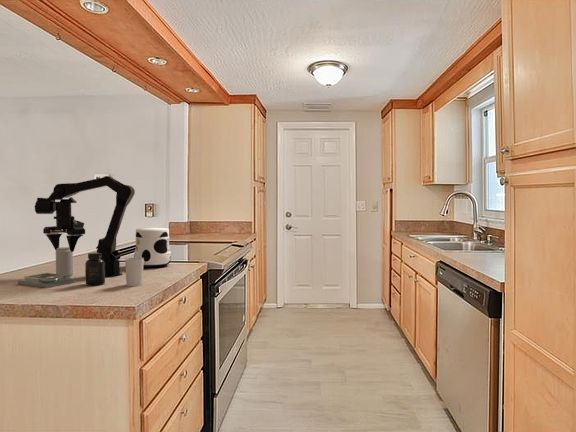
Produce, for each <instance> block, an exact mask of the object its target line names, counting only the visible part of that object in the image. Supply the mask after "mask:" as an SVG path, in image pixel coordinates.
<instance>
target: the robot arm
mask: <svg viewBox="0 0 576 432" xmlns="http://www.w3.org/2000/svg"><path fill="white" fill-rule="evenodd" d="M104 187H108V188H109V189H111V190H112V191H113V192H115V194H116V196H115V206H114V210H113V213H112V216H111V219H110V222H109V225H108V227H107V231H106V234H105V237H103V238H99V239H98V241H97V242H98V243H97V246H96V247H95V249H96V252H99V253H102V258H101V259H102V260H104V262H105V277H109V278H111V277H112V278H113V277H117V276H122V275H123V273H121V272H120V271H121V269H120V259H121V256H122V254H121V253H120V252H118V250H116V249H117V236H118V234H119V231H120V227H121V224H122V221H123V219H124V216H125V212H126V210H127V207H128V205H129V204H130V203H131V201H132V200H133V197H134V196H135V189H134V187H133V186H132V185H128V184H124V183H122V182H121V181H118V180H117V179H115V178H113V177H112V176H109V175H107V176H103V177H99V178H93V179H89V180H84V181H80V182H75V183H73V182H71V183H69V182H67V183H65V182H64V183H57V184H55V186H54V187H53V191H52V192H51V193H50V195H49V196H48V197H37V198H36V201H35V204H34V212H35V213H36V214H37V215H52V214H54V212H55V216H53V220H56V221H55V223H56V225H55V226H45V227H43V229H42V230H43V235H45V236H46V237H47V238H48V240H49V241H50V243H51V245H52V246H53V248H54V249H55V251H56V250H57V248H60V239H61V237H62V235H63V234H65V233H66V234H67V235H66V239H67V244H68V247H69V248H70V251H71V252H74V251H75V249H76V246H77V243H78V240H79V239H80V238H82V237H83V236H84V235H85V234H86V228H85V226H84V225H85V222H83V221H79V220H76V218H75V216H74V215H72V204H77V200H75V199H74V198H73V196H75V195H78V194H79V193H82V192H85V191H90V190H95V189H100V188H104Z"/></svg>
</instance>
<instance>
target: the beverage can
mask: <svg viewBox="0 0 576 432" xmlns="http://www.w3.org/2000/svg"><path fill="white" fill-rule="evenodd" d="M73 252H74V251H73ZM73 252H71V251H70V248H69V246H66V247H64V246H63V247H62V246H61V247H59V248H57V250H55V274H63V277H67V278H70V277H72V275H74V253H73Z"/></svg>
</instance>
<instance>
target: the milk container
mask: <svg viewBox="0 0 576 432" xmlns="http://www.w3.org/2000/svg"><path fill="white" fill-rule="evenodd" d="M170 248H171V247H170V228H166V227H145V228H136V229H135V250H134V254H133V258H134V257H140V258H144V263H143V268H157V267H164V266H167V265H169V264H170V263H171V261H172V253H171V249H170Z"/></svg>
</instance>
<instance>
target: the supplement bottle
mask: <svg viewBox="0 0 576 432" xmlns="http://www.w3.org/2000/svg"><path fill="white" fill-rule="evenodd" d="M101 258H102V253H99V252H97V251H96V252H95V251H94V252H89V253H87V260H86V261H85V265H84V266H85V268H84V269H85V270H84V272H85V273H84V274H85V276H84V277H85V285H86V286H91V287H93V286H101V285H105V283H106V276H105V262H104V260H102V259H101Z"/></svg>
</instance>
